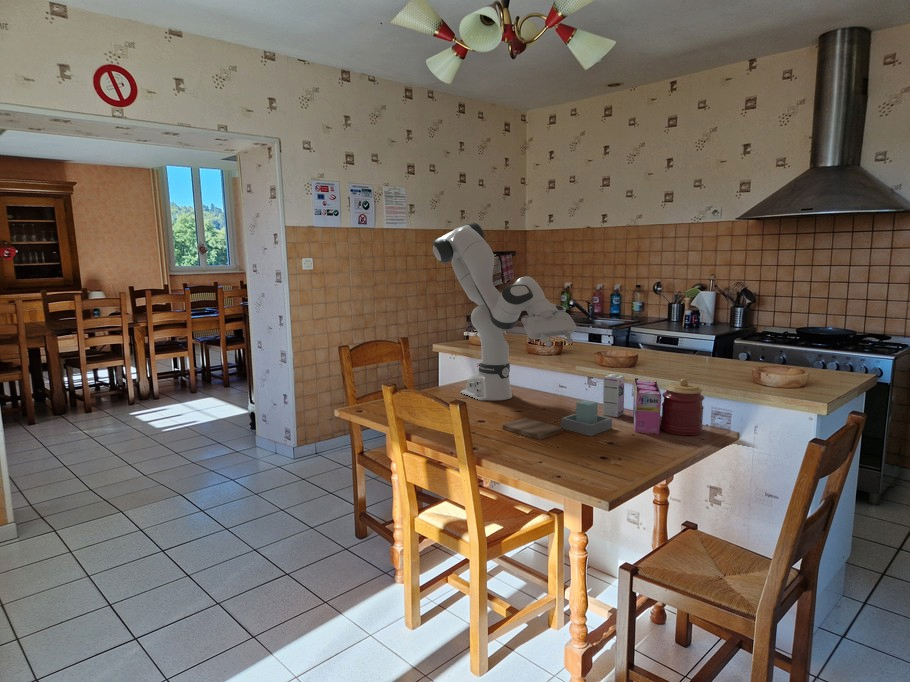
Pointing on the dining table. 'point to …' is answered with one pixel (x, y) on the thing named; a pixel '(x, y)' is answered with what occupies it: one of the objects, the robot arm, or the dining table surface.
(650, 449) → the dining table surface
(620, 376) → the syrup box
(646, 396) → the gum box
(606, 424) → the parts bin
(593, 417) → the teal block
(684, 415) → the canister
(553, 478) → the dining table surface
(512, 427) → the walnut board
